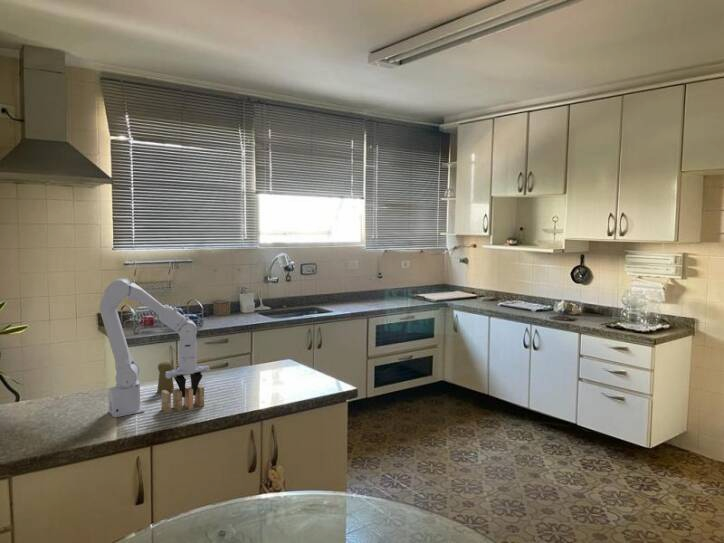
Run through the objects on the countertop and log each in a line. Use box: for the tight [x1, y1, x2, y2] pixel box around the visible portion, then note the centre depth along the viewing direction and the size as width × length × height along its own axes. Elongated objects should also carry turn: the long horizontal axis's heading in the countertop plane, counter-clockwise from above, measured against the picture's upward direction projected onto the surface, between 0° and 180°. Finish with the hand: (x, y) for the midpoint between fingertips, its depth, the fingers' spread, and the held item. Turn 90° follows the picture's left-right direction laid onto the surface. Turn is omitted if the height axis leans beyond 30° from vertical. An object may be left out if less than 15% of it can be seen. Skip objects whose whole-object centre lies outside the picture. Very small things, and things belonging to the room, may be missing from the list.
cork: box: [156, 361, 175, 395], centre depth 202 cm, size 6×6×11 cm
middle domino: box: [172, 387, 183, 412], centre depth 184 cm, size 1×5×6 cm, turn 39°
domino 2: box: [183, 385, 194, 410], centre depth 186 cm, size 1×5×6 cm, turn 38°
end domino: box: [194, 383, 205, 407], centre depth 189 cm, size 1×5×6 cm, turn 38°
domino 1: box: [160, 390, 172, 414], centre depth 182 cm, size 1×5×6 cm, turn 38°
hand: (188, 395), depth 186 cm, fingers open, 3 cm apart
